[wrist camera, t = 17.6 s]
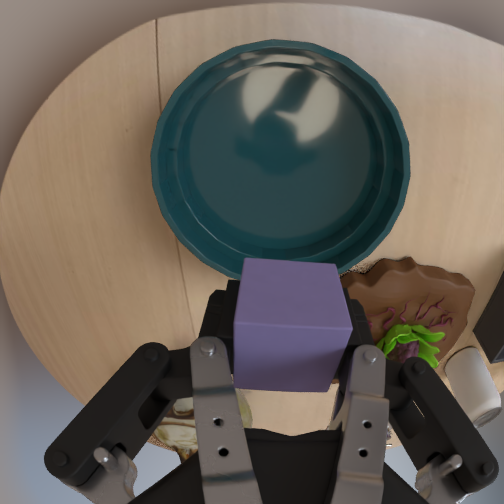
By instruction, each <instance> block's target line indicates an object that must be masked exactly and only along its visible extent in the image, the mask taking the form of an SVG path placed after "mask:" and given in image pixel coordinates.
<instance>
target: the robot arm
mask: <svg viewBox="0 0 504 504" xmlns="http://www.w3.org/2000/svg"><path fill="white" fill-rule="evenodd" d="M239 286H240V280H228V284H227V288H226V290H215V291H214V292H213V293H212V294H211V295H210V297H209V301H208V304H207V308H206V312H205V315H204V319H203V322H202V326H201V329H200V333H199V337H198V339H196V340H195V341H194V342H193V343H192V344H191V346H189V347H187V348H184V349H179V350H170V351H169V350H168V349H167V347H166V346H164V345H163V344H160V343H156V342H150V343H146V344H144V345H142V346H140V347H139V348H138V349H137V350H136V351H135V352H134V353H133V354H132V355H131V357H130V358H129V359H128V360H127V361H126V362H125V363H124V364H123V365H122V366H121V367H120V369H119V370H118V371H117V372H116V373H115V374H114V375H113V376H112V377H111V378H110V379H109V380H108V382H107V383H106V384H105V385H104V386H103V387H102V388H101V389H100V390H99V391H98V393H97V394H96V395H95V396H94V397H93V398H92V399H91V400H90V401H89V402H88V404H87V405H86V406H85V407H84V408H83V409H82V410H81V412H80V413H79V414H78V415H77V416H76V417H75V418H74V419H73V420H72V421H71V422H70V424H69V425H68V426H67V427H66V428H65V429H64V430H63V431H62V433H61V434H60V435H59V436H58V437H57V438H56V439H55V440H54V442H53V443H52V444H51V445H50V446H49V447H48V449H47V450H46V452H45V455H44V463H45V466H46V468H47V470H48V471H49V472H50V473H51V474H52V475H53V476H55V477H56V478H58V479H59V480H60V481H61V482H63V483H64V484H65V485H67V486H69V487H70V488H72V489H74V490H75V491H77V492H79V493H82V494H83V495H84V496H85V497H86V498H88V499H89V500H90V501H92V502H93V503H94V504H458V503H460V502H461V501H462V500H463V499H464V498H466V497H468V496H470V495H472V494H474V493H476V492H477V491H479V490H481V489H483V488H485V487H486V486H488V485H490V484H491V483H493V482H494V481H495V479H496V478H497V475H498V472H499V467H498V462H497V460H496V458H495V457H494V455H493V454H492V452H491V451H490V449H489V447H488V446H487V444H486V443H485V441H484V440H483V439H482V437H481V435H480V434H479V432H478V431H477V429H476V428H475V426H474V425H473V423H472V422H471V420H470V419H469V418H468V416H467V415H466V413H465V412H464V410H463V409H462V408H461V406H460V405H459V403H458V402H457V401H456V399H455V398H454V396H453V395H452V394H451V392H450V391H449V390H448V388H447V387H446V385H445V384H444V383H443V381H442V380H441V379H440V377H439V376H438V375H437V373H436V372H435V371H434V369H433V368H432V367H431V366H430V364H429V363H428V362H427V361H426V360H424V359H423V358H420V357H409V358H408V359H406V360H405V362H404V363H400V362H396V361H392V360H389V359H387V358H385V355H384V353H383V352H382V351H381V350H380V349H379V348H377V347H375V344H374V341H373V337H372V334H371V330H370V327H369V324H368V321H367V317H366V314H365V311H364V308H363V306H362V305H361V304H360V302H359V301H358V300H357V299H350V296H349V292H348V289H347V288H342V289H343V293H344V296H345V300H346V304H347V308H348V312H349V316H350V320H351V323H352V328H353V329H352V332H351V335H350V338H349V340H348V343H347V346H346V348H345V351H344V353H343V356H342V358H341V361H340V363H339V366H338V368H337V371H336V373H335V375H334V378H333V379H339V387H338V389H337V392H336V397H335V402H334V407H333V412H332V416H331V421H330V425H329V428H328V430H318V431H314V432H310V433H306V434H301V435H297V436H287V435H283V434H280V433H276V432H272V431H269V430H265V429H255V428H244V427H243V423H242V418H241V413H240V408H239V403H238V399H237V394H236V390H235V388H234V387H233V383H232V377H231V374H233V323H234V316H235V310H236V304H237V298H238V292H239ZM190 397H192V398H193V408H194V418H195V428H196V437H197V445H198V450H197V451H196V452H195V453H194V454H193V455H191V456H190V457H189V458H188V459H186V460H185V461H184V462H183V463H181V464H180V465H179V466H178V467H176V468H175V469H174V470H172V471H171V472H170V473H169V474H167V475H166V476H165V477H163V478H162V479H161V480H159V481H158V482H157V483H155V484H154V485H153V486H151V487H150V488H148V489H147V490H145V491H144V492H143V493H141V494H140V495H138V496H137V497H135V496H134V493H133V484H134V482H135V480H136V478H137V468H136V466H135V464H134V463H133V461H132V460H133V459H134V458H135V456H136V455H137V454H138V452H139V451H140V450H141V448H142V447H143V446H144V444H145V443H146V442H147V440H148V439H149V438H150V436H151V435H152V434H153V432H154V431H155V430H156V428H157V427H158V426H159V424H160V423H161V421H162V420H163V419H164V417H165V416H166V415H167V413H168V412H169V411H170V409H171V408H172V406H173V405H174V404H175V402H176V401H177V399H182V398H190ZM413 401H414V402H415V403H416V405H417V406H418V408H419V409H420V411H421V412H420V411H419V409H418V408H417V406H416V405H415V403H414V402H413ZM421 413H422V414H423V415H422V414H421ZM423 416H424V417H423ZM388 421H389V423H390V425H391V426H392V428H393V430H394V431H395V433H396V435H397V436H398V438H399V440H400V441H401V443H402V445H403V446H404V448H405V450H406V452H407V453H408V455H409V457H410V459H411V460H412V462H413V464H414V466H415V467H416V469H417V471H418V473H417V475H416V482H415V488H416V489H417V490H418V493H417V492H416V491H415V490H414V489H413V488H412V487H411V486H410V485H409V484H407V483H406V482H405V481H404V480H403V479H402V478H401V477H400V476H399V475H398V474H397V473H396V472H395V471H393V470H392V469H391V468H390V467H389V466H388V465H387V464H386V463H385V462H384V458H385V449H386V440H387V429H388Z"/></svg>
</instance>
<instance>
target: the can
mask: <svg viewBox="0 0 504 504" xmlns="http://www.w3.org/2000/svg"><path fill="white" fill-rule="evenodd" d="M445 372H446V375H447V377H448V380H449V382H450V385H451V388H452V390H453V393H454V396H455V398H456V401H457V402H458V403H459V405H460V406H461V408H462V409H463V410H464V412H465V413H466V415H467V416H468V418H469V419H470V420H471V422H472V423H473V425H474V426H475V428H476V429H477V428H480V427H482V426H484V425H485V424H487V423H489V422H490V421H491V420H493V419H494V418H495V417H497V415H499V414H500V412H501V410H502V408H501V398H500V395H499V393H498V391H497V388H496V386H495V384H494V382H493V379H492V377H491V375H490V373H489V371H488V369H487V367H486V365H485V363H484V361H483V359H482V357H481V355H480V353H479V351H478V350H477V349H476V348H473V347H467V348H464V349H462V350H460V351H458V352H457V353H455V354H454V355H453V356H452V357H451V358H450V359H449V360H448V362H447V364H446V367H445Z"/></svg>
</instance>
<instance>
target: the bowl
mask: <svg viewBox="0 0 504 504" xmlns="http://www.w3.org/2000/svg"><path fill="white" fill-rule="evenodd" d="M151 172H152V186H153V190H154V193H155V195H156V198H157V201H158V204H159V207H160V210H161V213H162V216H163V217H164V219H165V220H166V222H167V223H168V225H169V226H170V228H171V229H172V231H173V232H174V234H175V235H176V237H177V238H178V240H179V241H180V242H181V243H182V244H183V245H184V246H185V247H186V248H187V249H188V250H189V251H190V252H192V253H193V254H194V255H195V256H196V257H197V258H198V259H199V260H200V261H201V262H203V263H205V264H206V265H208V266H210V267H212V268H213V269H215V270H217V271H219V272H221V273H222V274H224V275H226V276H229V277H230V278H234V279H237V280H241V274H242V268H243V263H244V258H258V259H272V260H285V261H299V262H313V263H327V264H335V265H336V268H337V271H338V275H339V274H341V273H344V272H346V271H347V270H348V269H350V268H351V267H353V266H354V265H356V264H357V263H359V262H360V261H362V260H363V259H365V258H366V257H368V256H369V255H370V254H371V253H372V252H373V251H374V250H375V249H376V247H377V246H378V245H379V244H380V243H381V242H382V241H383V240H384V239H385V237H386V236H387V235H388V234H389V233H390V231H391V229H392V227H393V225H394V223H395V222H396V220H397V218H398V216H399V214H400V212H401V210H402V208H403V206H404V202H405V198H406V194H407V189H408V185H409V180H410V153H409V141H408V138H407V135H406V132H405V129H404V126H403V123H402V121H401V118H400V115H399V112H398V110H397V108H396V107H395V105H394V104H393V102H392V101H391V99H390V98H389V97H388V95H387V94H386V92H385V91H384V90H383V88H382V87H381V86H380V84H379V83H378V81H376V79H374V78H373V77H372V76H371V75H370V74H368V73H367V72H366V71H365V70H363V69H362V68H361V67H359V66H358V65H357V64H356V63H354V62H353V61H352V60H350V59H349V58H347V57H346V56H343V55H341V54H339V53H336V52H334V51H331V50H329V49H326V48H324V47H321V46H319V45H316V44H313V43H308V42H299V41H289V40H276V39H273V40H272V39H271V40H265V41H260V42H255V43H250V44H245V45H240V46H236V47H233V48H231V49H229V50H227V51H225V52H223V53H221V54H219V55H217V56H216V57H214V58H212V59H210V60H208V61H206V62H204V63H203V64H201V65H200V66H199V67H198V68H197V69H196V70H195V71H193V72H192V73H191V74H190V75H189V76H188V77H187V78H186V79H185V80H184V81H183V82H182V83H181V84H180V85H179V86H178V87H177V88H176V89H175V91H174V92H173V94H172V96H171V97H170V99H169V101H168V103H167V105H166V106H165V108H164V110H163V112H162V114H161V116H160V118H159V119H158V122H157V126H156V130H155V135H154V139H153V144H152V149H151Z"/></svg>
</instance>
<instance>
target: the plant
mask: <svg viewBox="0 0 504 504" xmlns="http://www.w3.org/2000/svg"><path fill="white" fill-rule="evenodd" d="M340 282H341V285H342V288H347V289H348V292H349V296H350V299H357V300H358V301H359V302H360V304H361V305H362V306H363V308H364V311H365V314H366V317H367V321H368V324H369V327H370V330H371V334H372V337H373V341H374V344H375V347H377V348H379V349H380V350H381V351H382V352H383V353H384V355H385V358H387V359H389V360H392V361H396V362H400V363H404V362H405V360H406V359H408V358H409V357H420V358H423V359H424V360H426V361H427V362H428V363H429V364H430V366H431V367H432V368H436V367H437V366H438V362H439V361H440V360H441V359H442V358H443V357H444V356H445V355H446V354H447V353H448V352H449V350H450V349H451V348H452V347H453V346H454V344H455V343H456V341H457V339H458V338H459V337H460V335H461V334H462V332H463V331H464V329H465V327H466V325H467V314H468V311H469V309H470V306H471V303H472V300H473V297H474V294H475V288H474V287H473V285H472V284H471V282H470V281H469V280H468V279H466V278H465V277H464V276H463V275H462V274H459V273H449V272H447V271H445V270H443V269H442V268H439V267H433V266H421V265H418V264H417V263H416V262H415V261H414V260H413V259H412V258H411V257H408V258H407V259H405V260H403V261H400V262H396V261H392V260H389V259H382V260H380V261H379V262H378V263H377V264H376V265H375V266H374V267H373V268H372V269H371V270H370V271H369V272H368V273H366V274H359V273H356V272H353V271H351V272H349V273H348V274H346V275H345V276H344V277H343V278H341V279H340ZM331 383H332V384H336V383H339V379H333V380H332V382H331Z"/></svg>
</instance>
